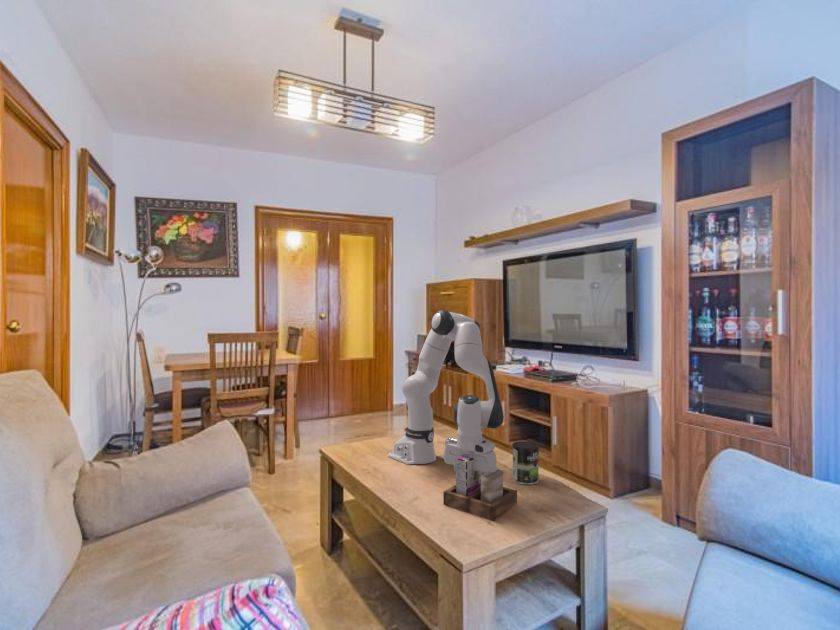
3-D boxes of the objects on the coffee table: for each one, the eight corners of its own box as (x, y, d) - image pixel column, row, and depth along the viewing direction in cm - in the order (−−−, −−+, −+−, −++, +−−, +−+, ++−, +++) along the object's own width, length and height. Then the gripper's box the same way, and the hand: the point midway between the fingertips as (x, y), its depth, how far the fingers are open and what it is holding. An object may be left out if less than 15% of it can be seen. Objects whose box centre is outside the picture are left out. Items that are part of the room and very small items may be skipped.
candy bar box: (471, 493, 171) (472, 449, 171) (483, 497, 168) (483, 452, 168) (454, 504, 163) (455, 457, 162) (467, 508, 160) (467, 460, 159)
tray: (443, 504, 162) (443, 470, 162) (468, 489, 176) (468, 457, 175) (494, 520, 150) (494, 484, 150) (516, 503, 163) (517, 469, 163)
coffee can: (544, 481, 184) (544, 445, 183) (526, 487, 178) (526, 450, 177) (524, 473, 192) (524, 439, 192) (506, 478, 186) (506, 444, 186)
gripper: (440, 438, 169) (440, 476, 169) (490, 449, 156) (489, 490, 157) (450, 434, 174) (450, 471, 174) (498, 445, 161) (498, 484, 162)
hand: (469, 480), depth 165 cm, fingers open, 7 cm apart
